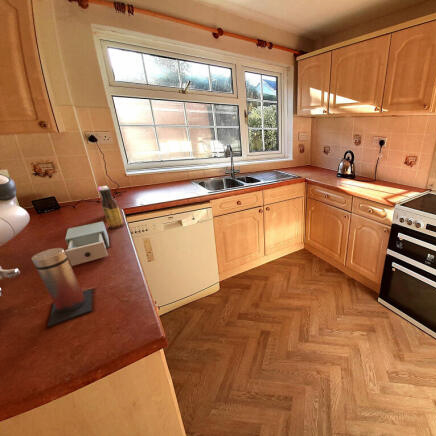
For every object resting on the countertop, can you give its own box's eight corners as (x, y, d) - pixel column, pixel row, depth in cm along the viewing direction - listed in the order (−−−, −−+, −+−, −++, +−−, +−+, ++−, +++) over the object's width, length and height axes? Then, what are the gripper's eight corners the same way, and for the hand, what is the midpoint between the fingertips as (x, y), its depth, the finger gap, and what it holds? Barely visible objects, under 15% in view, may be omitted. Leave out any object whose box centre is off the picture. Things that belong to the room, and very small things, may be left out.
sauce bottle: (108, 226, 124) (95, 188, 117) (123, 223, 128) (111, 186, 120) (110, 230, 120) (96, 191, 112) (124, 226, 123) (112, 188, 116)
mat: (48, 327, 63) (47, 326, 63) (54, 302, 72) (53, 301, 72) (91, 311, 68) (91, 310, 68) (92, 289, 77) (91, 288, 77)
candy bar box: (106, 214, 142) (96, 186, 135) (116, 212, 145) (107, 185, 138) (107, 219, 134) (97, 190, 127) (118, 217, 136) (109, 188, 130)
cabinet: (109, 247, 103) (103, 230, 100) (72, 256, 97) (65, 239, 94) (108, 236, 113) (103, 221, 110) (74, 244, 106) (68, 228, 104)
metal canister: (56, 316, 66) (28, 263, 59) (59, 303, 70) (33, 252, 64) (85, 306, 69) (62, 254, 63) (86, 294, 74) (65, 245, 67)
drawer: (108, 257, 94) (103, 243, 92) (71, 267, 88) (64, 252, 85) (107, 244, 104) (102, 231, 102) (73, 252, 98) (68, 239, 96)
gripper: (-38, 287, 65) (31, 271, 71) (-102, 343, 48) (-5, 316, 54) (-52, 267, 63) (21, 252, 69) (-124, 319, 46) (-19, 294, 52)
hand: (10, 281), depth 61 cm, fingers open, 8 cm apart
